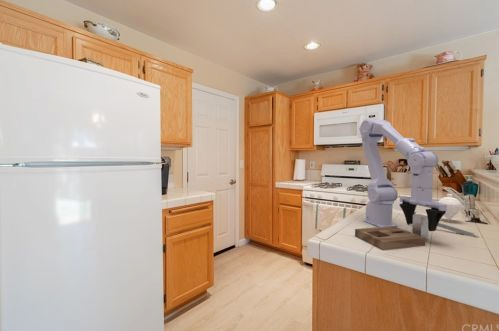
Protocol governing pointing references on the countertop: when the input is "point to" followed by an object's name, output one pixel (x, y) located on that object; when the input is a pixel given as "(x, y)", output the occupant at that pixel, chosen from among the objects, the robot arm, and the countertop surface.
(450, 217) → the spinning top
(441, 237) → the countertop surface
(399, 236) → the socket block
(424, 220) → the peg
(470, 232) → the caliper
